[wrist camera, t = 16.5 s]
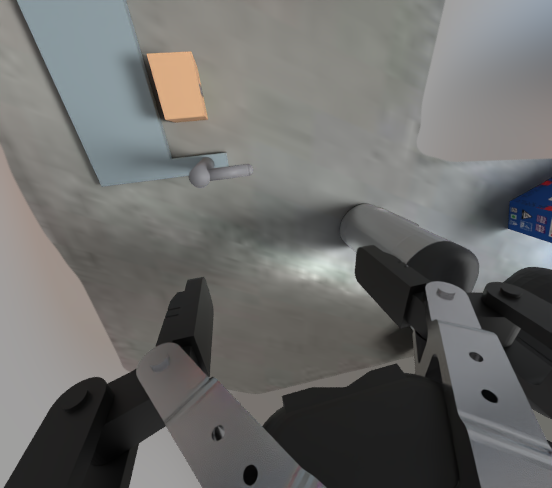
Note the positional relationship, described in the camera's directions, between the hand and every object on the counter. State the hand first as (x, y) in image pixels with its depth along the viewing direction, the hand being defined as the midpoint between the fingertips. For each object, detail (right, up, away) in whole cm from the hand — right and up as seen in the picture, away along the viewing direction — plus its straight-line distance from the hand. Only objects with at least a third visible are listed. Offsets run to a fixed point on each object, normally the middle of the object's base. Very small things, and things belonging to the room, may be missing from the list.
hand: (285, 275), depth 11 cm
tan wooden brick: (-13, +22, +18) cm, 31 cm away
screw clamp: (-17, +23, +17) cm, 33 cm away
